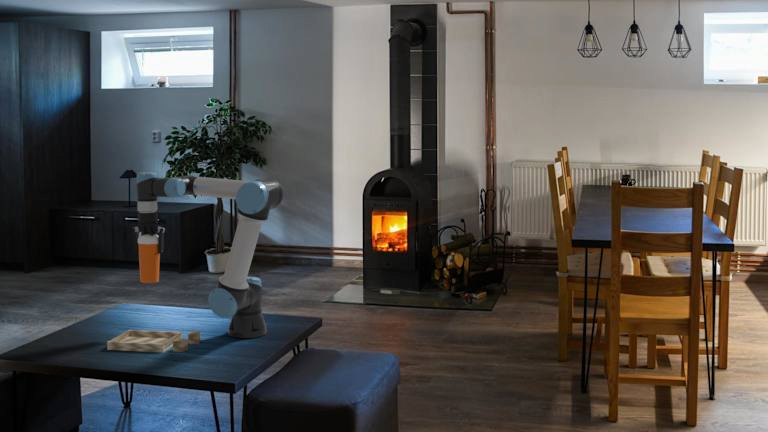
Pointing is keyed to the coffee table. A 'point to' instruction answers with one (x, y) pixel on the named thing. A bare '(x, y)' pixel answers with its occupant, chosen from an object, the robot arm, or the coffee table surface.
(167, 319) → the coffee table surface
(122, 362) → the coffee table surface
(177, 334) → the tray
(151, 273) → the shaker bottle
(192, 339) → the oak block
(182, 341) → the oak block
